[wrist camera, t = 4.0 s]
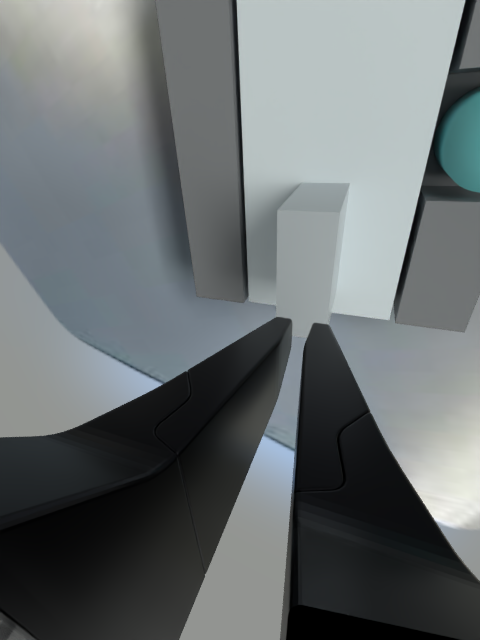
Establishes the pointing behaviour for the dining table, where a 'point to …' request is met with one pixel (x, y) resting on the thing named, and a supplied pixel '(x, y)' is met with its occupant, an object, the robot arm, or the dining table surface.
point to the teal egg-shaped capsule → (461, 141)
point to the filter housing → (228, 172)
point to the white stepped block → (336, 146)
